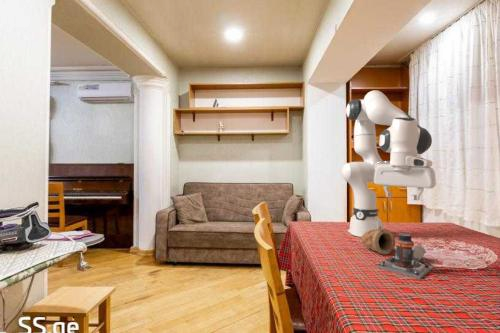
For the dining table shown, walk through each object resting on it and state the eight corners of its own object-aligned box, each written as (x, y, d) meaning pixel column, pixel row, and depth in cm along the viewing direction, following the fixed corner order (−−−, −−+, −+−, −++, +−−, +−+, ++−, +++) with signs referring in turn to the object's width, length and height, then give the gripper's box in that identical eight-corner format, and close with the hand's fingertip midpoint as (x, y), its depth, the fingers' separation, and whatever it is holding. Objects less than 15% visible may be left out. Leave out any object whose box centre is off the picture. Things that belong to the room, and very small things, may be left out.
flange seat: (400, 254, 122) (400, 242, 122) (439, 262, 112) (439, 249, 112) (377, 267, 106) (377, 254, 106) (420, 279, 96) (420, 264, 96)
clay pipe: (355, 259, 126) (389, 256, 116) (349, 234, 128) (381, 230, 118) (374, 249, 139) (406, 246, 129) (368, 227, 141) (399, 222, 131)
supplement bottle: (417, 267, 103) (418, 236, 103) (403, 268, 102) (404, 236, 102) (405, 262, 109) (406, 232, 109) (391, 263, 108) (392, 232, 108)
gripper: (371, 160, 111) (370, 196, 112) (432, 161, 97) (431, 202, 97) (378, 160, 116) (377, 195, 116) (437, 161, 101) (436, 201, 102)
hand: (402, 198), depth 107 cm, fingers open, 8 cm apart
